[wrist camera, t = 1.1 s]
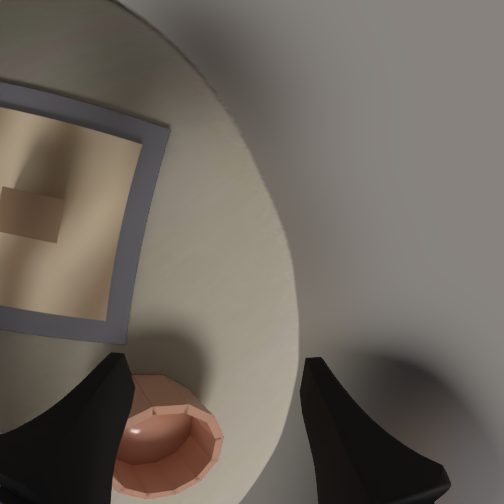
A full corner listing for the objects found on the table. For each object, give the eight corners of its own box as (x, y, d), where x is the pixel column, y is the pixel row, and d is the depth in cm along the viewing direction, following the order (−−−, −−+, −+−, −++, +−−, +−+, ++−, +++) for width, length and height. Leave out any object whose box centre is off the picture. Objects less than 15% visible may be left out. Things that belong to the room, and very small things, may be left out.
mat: (-69, 310, 12) (-71, 312, 11) (-22, 80, 12) (-24, 78, 12) (124, 342, 22) (125, 344, 22) (168, 131, 22) (170, 130, 22)
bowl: (89, 466, 20) (103, 502, 16) (86, 372, 20) (98, 407, 16) (188, 458, 27) (211, 486, 23) (203, 374, 27) (232, 399, 23)
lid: (-52, 291, 13) (-72, 310, 9) (-15, 106, 13) (-27, 83, 9) (104, 318, 21) (117, 341, 17) (140, 146, 21) (160, 132, 17)
